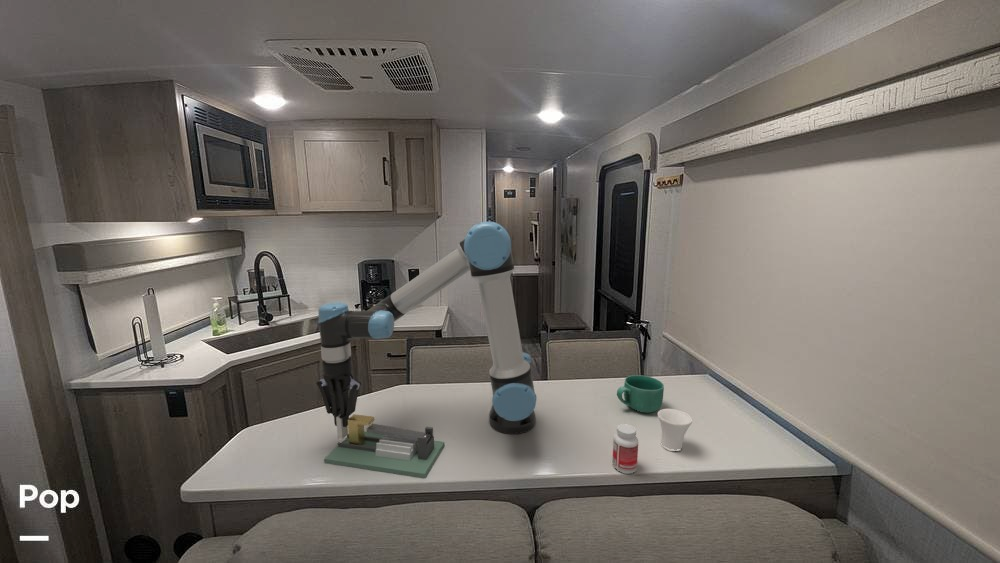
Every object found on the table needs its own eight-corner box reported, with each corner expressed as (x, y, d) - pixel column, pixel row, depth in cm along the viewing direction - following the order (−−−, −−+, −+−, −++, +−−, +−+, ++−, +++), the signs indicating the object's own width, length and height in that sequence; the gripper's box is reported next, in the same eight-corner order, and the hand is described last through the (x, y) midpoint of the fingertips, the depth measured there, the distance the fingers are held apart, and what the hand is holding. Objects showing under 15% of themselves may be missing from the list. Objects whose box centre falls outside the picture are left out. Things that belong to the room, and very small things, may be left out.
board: (444, 445, 106) (443, 422, 105) (424, 478, 93) (424, 451, 92) (354, 433, 112) (353, 411, 111) (324, 462, 99) (322, 437, 98)
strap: (431, 438, 102) (431, 432, 101) (426, 444, 99) (426, 438, 98) (372, 427, 105) (372, 421, 105) (366, 433, 102) (366, 427, 102)
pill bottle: (641, 469, 96) (644, 430, 95) (626, 478, 93) (629, 438, 91) (622, 456, 101) (624, 419, 100) (607, 464, 98) (609, 426, 96)
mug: (647, 397, 135) (649, 373, 134) (670, 414, 123) (672, 388, 122) (606, 402, 132) (607, 377, 131) (625, 420, 120) (627, 393, 118)
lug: (375, 441, 106) (374, 416, 104) (370, 447, 103) (368, 422, 102) (355, 439, 107) (353, 414, 106) (349, 445, 104) (347, 419, 103)
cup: (647, 442, 108) (650, 411, 106) (671, 435, 111) (673, 405, 110) (672, 460, 100) (675, 426, 98) (696, 452, 103) (699, 419, 102)
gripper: (365, 355, 105) (370, 431, 108) (325, 352, 107) (331, 426, 111) (349, 365, 97) (355, 446, 101) (307, 361, 100) (314, 440, 104)
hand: (343, 435), depth 106 cm, fingers closed
